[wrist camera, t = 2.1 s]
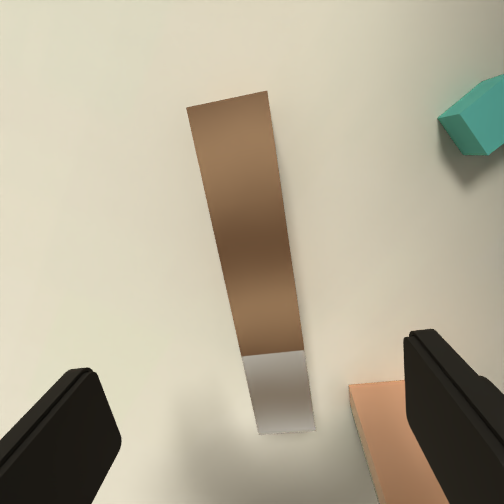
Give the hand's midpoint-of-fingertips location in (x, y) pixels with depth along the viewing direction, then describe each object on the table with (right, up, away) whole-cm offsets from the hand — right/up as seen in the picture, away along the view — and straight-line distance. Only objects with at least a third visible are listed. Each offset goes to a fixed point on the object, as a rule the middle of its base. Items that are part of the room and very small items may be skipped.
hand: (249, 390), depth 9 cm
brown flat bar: (+1, +3, +8) cm, 9 cm away
